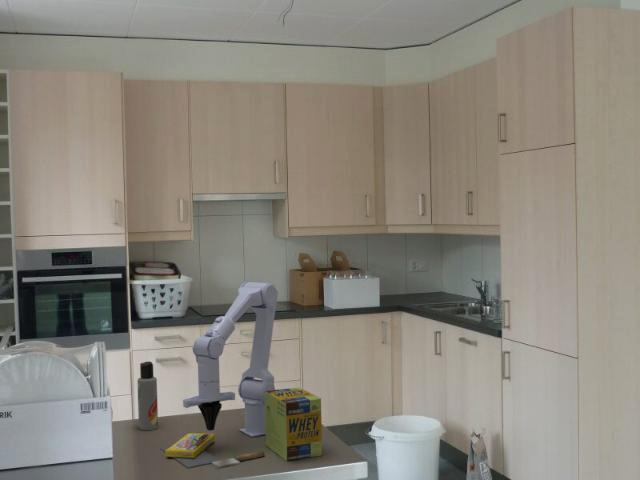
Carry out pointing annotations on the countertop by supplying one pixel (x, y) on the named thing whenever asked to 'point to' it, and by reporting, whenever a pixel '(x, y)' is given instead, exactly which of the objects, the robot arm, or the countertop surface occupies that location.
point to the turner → (237, 459)
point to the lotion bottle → (147, 398)
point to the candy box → (190, 445)
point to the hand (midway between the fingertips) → (210, 429)
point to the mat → (194, 459)
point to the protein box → (293, 423)
